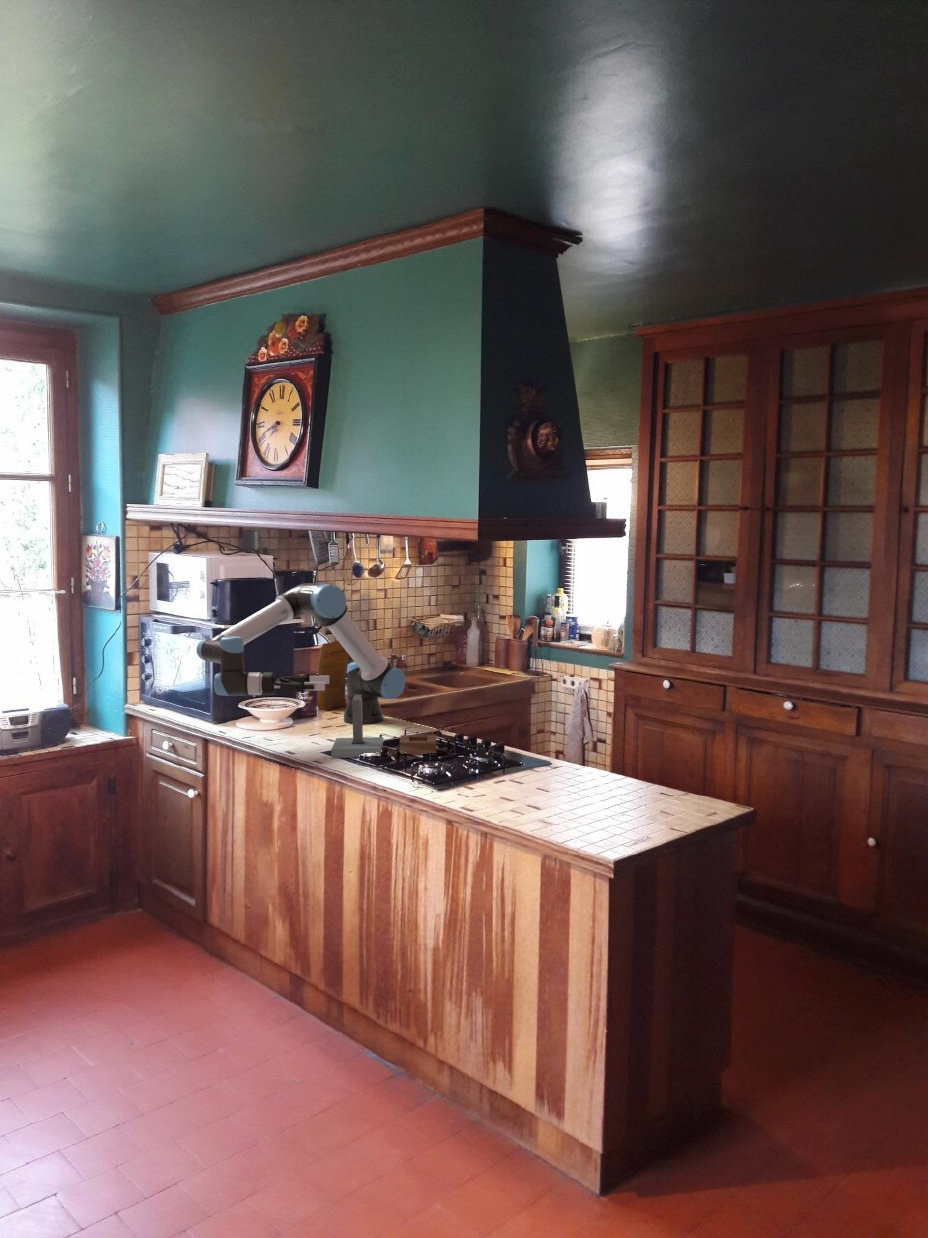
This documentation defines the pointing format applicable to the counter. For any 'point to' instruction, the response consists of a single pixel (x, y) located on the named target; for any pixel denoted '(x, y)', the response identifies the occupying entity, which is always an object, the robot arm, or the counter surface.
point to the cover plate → (356, 747)
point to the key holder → (418, 744)
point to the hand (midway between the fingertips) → (327, 682)
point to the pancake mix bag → (332, 675)
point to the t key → (357, 719)
